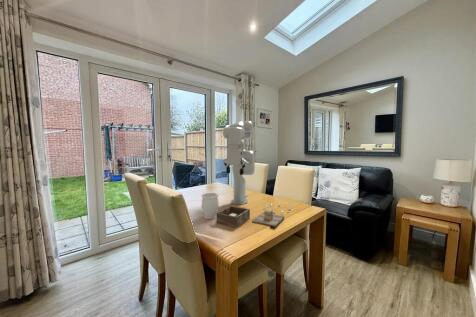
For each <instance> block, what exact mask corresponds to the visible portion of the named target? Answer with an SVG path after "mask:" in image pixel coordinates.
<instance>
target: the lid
mask: <svg viewBox="0 0 476 317" xmlns="http://www.w3.org/2000/svg"><path fill="white" fill-rule="evenodd" d="M273 211H274V210H273V209H268V208H267V209H266V208H265V210H264V212H261V213H260V214H259V215H258V216H256V217H255V218H254V219H252V220H251V223H253V224H259V225H264V226H267V227H268V226H269V227H270V228H276V227H278V225H279V224H281V222H282V221H284V219H285V216H284V215H281V214H280V215H279V214H275V213H274V214H273Z"/></svg>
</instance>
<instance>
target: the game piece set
mask: <svg viewBox="0 0 476 317" xmlns="http://www.w3.org/2000/svg"><path fill="white" fill-rule="evenodd" d="M270 203H271V204H270V206H271V207H272V206H273V203H272V202H270ZM277 203H278V206H279V207H281V204H282V202H280V201H279V202H277ZM268 207H269V206H268V202H266V203H265V205H264V207H263V209H265V210H266V208H268ZM286 207H287V208H288V210H287V211H286V213H288V212H289V213H290V210H289V209H291V208H292V206H291V205H289V206H288V205H287V206H286ZM280 212H281V213H282V214H281V215H284V210H280ZM273 213H274V214H275V213H276V212H275V210H273Z"/></svg>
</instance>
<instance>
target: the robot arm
mask: <svg viewBox="0 0 476 317" xmlns="http://www.w3.org/2000/svg"><path fill="white" fill-rule="evenodd" d="M222 137H223V138H224V139H226V140H228V149H227V153H226V158H225V159H223V160H222V163H223V165H224V166H225V168H226V174H228V175H229V174H230V173H231V169H232V177H233V179H232V180H233V186H232V187H233V199H232V200H231V204H234V205H245V204H247V203H248V200H247V199H246V198H248V195H247V194H246V178H245V177H244V176H252V175H254V174H255V167H256V166H255V162H256V161H255V160H256V159H255V157H256V156H255V152H254V151H253V150H246V147H247V146H246V144H245V142H243V141H242V140H252V139H253V138H254V124H253V123H252V121H251V120H250V121H249V120H238V121H235V123H233V124H228V125H225V126H224V128H223V130H222Z"/></svg>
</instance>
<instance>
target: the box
mask: <svg viewBox="0 0 476 317" xmlns="http://www.w3.org/2000/svg"><path fill="white" fill-rule="evenodd" d="M231 213H235V214H238V216H236V217H235V216H231V215H230V214H231ZM250 216H251V209H249V208H244V207H240V206H234V205H229V206H228V207H225V208H224V209H222V210H220V211H217V213H216V217H215V218H216V220H215V221H216V224H218V225H219V224H220V225H223V226H227V227H231V228H236V229H238V228H239V227H240V226H242V225H243V224H244V223H247V221H248V220H250V218H251V217H250Z"/></svg>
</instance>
